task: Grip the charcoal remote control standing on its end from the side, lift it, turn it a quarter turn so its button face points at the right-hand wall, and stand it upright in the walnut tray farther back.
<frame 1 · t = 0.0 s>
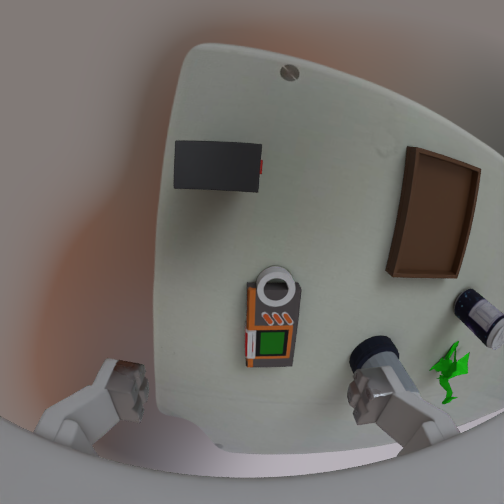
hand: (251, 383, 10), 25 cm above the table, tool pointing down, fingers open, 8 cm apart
remote: (226, 158, 31), on the table
humidifier: (371, 354, 42), on the table
electronic device: (270, 314, 38), on the table
figurine: (441, 359, 45), on the table
beverage can: (462, 300, 40), on the table
tray: (433, 215, 34), on the table
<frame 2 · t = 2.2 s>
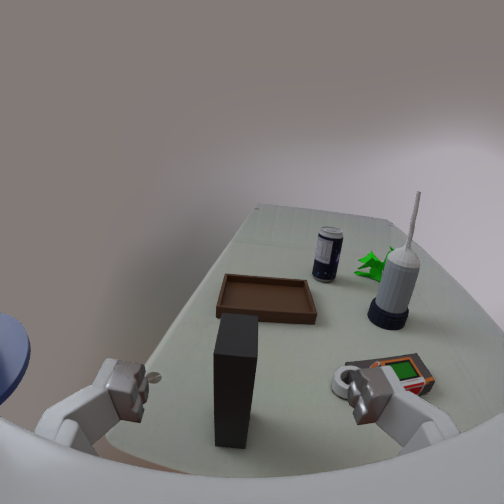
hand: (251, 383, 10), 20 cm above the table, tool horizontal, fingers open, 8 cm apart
remote: (232, 428, 27), on the table
humidifier: (386, 319, 51), on the table
electronic device: (379, 386, 34), on the table
figurine: (372, 279, 69), on the table
beverage can: (323, 278, 67), on the table
tray: (265, 302, 54), on the table
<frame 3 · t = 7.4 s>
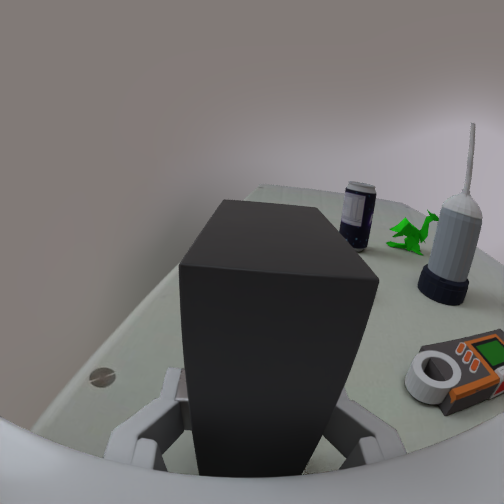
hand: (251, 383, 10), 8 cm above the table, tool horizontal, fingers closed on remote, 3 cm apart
remote: (242, 480, 12), on the table, touching gripper
humidifier: (440, 293, 35), on the table
electronic device: (465, 380, 18), on the table
figurine: (408, 251, 53), on the table
beverage can: (351, 248, 51), on the table
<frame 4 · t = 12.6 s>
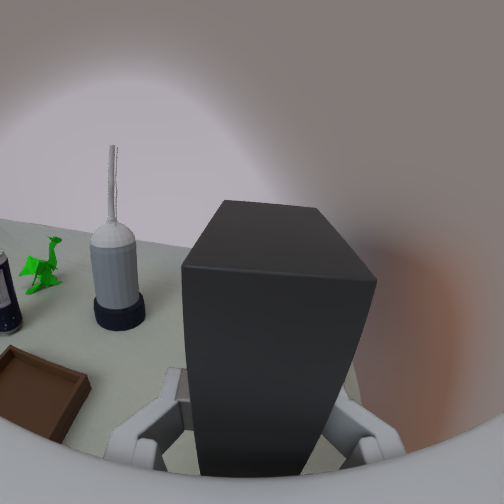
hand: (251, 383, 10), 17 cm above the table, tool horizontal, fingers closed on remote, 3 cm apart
remote: (242, 478, 12), point 9 cm above the table, touching gripper
humidifier: (120, 316, 40), on the table
figurine: (46, 286, 44), on the table
beverage can: (9, 327, 30), on the table
tray: (16, 419, 17), on the table
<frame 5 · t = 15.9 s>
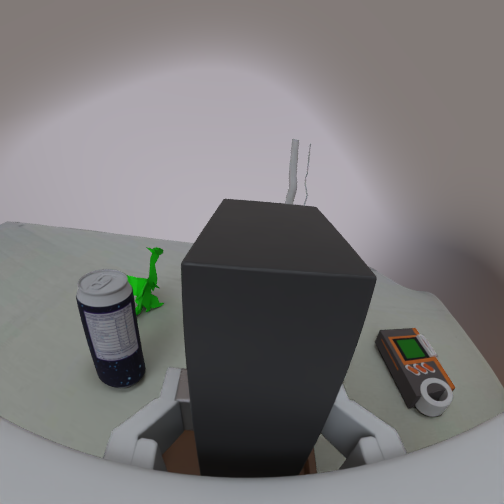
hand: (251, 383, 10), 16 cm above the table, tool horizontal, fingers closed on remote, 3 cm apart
remote: (242, 477, 12), point 8 cm above the table, touching gripper
humidifier: (272, 340, 37), on the table
electronic device: (412, 377, 30), on the table
figurine: (145, 310, 41), on the table
beverage can: (122, 376, 27), on the table
when the fingers open (9 cm above the table, at t = 18.2 s): remote stays where it is, resting on tray.
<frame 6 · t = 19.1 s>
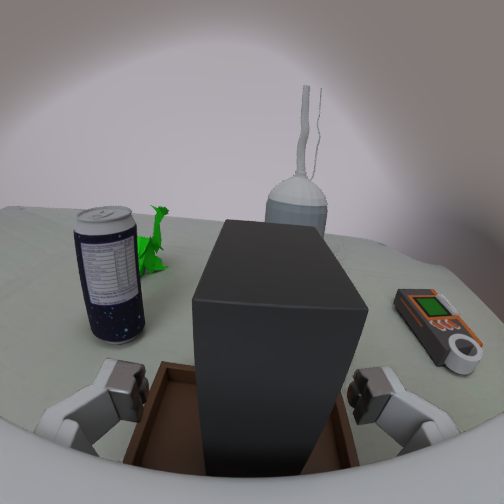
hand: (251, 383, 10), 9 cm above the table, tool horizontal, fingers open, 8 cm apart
remote: (244, 479, 12), point 1 cm above the table, touching tray
humidifier: (284, 300, 35), on the table
electronic device: (435, 338, 27), on the table
figurine: (147, 273, 39), on the table
beverage can: (119, 333, 26), on the table
tray: (241, 487, 12), on the table
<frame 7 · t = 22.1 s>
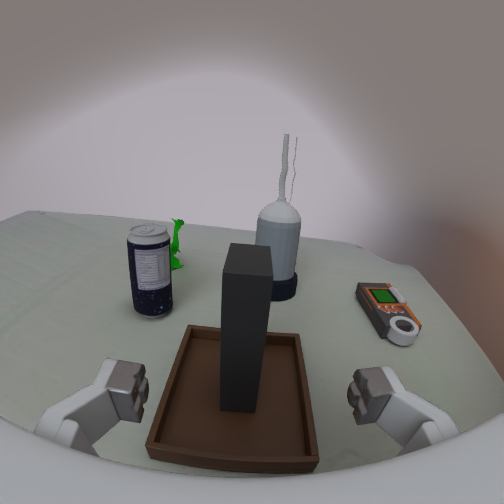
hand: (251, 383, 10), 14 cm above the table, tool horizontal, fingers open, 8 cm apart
remote: (239, 390, 25), point 1 cm above the table, touching tray
humidifier: (271, 289, 48), on the table
electronic device: (386, 319, 40), on the table
figurine: (168, 270, 52), on the table
beverage can: (153, 311, 39), on the table
tray: (237, 397, 25), on the table
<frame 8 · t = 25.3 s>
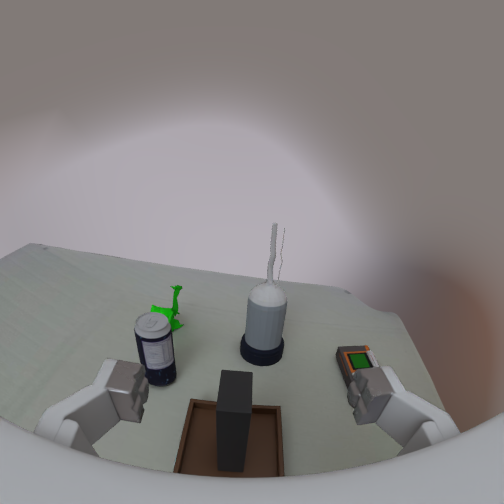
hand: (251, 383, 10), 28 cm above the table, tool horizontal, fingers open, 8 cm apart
remote: (231, 454, 30), point 1 cm above the table, touching tray
humidifier: (261, 352, 53), on the table
electronic device: (360, 381, 45), on the table
figurine: (169, 330, 56), on the table
beverage can: (160, 378, 43), on the table
tray: (230, 458, 30), on the table
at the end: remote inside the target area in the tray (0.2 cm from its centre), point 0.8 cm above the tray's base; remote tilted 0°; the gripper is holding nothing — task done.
